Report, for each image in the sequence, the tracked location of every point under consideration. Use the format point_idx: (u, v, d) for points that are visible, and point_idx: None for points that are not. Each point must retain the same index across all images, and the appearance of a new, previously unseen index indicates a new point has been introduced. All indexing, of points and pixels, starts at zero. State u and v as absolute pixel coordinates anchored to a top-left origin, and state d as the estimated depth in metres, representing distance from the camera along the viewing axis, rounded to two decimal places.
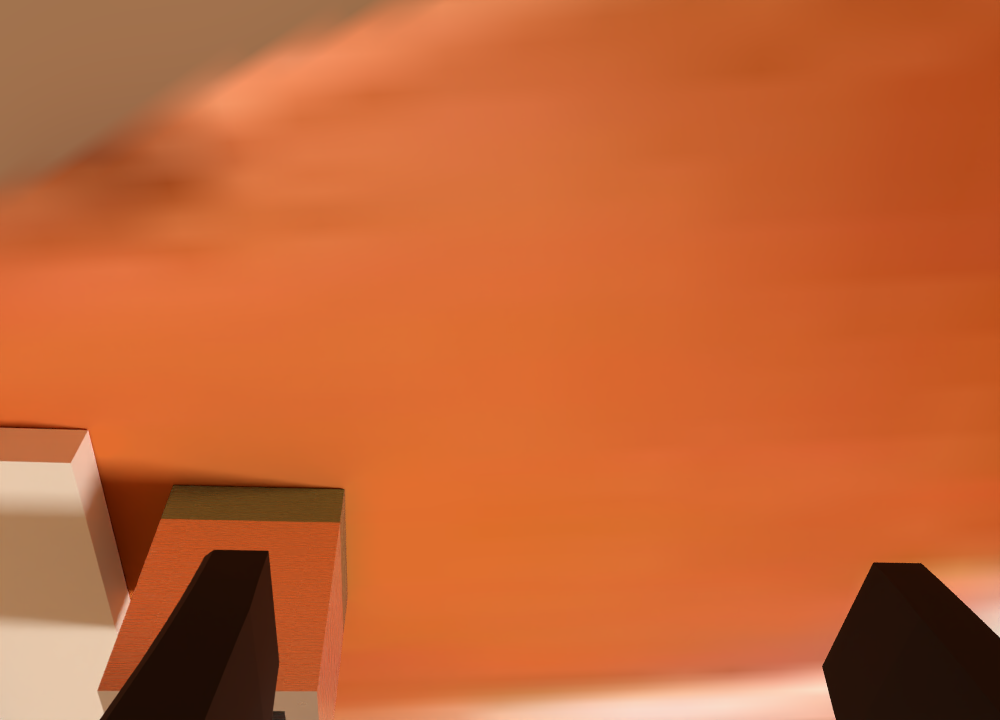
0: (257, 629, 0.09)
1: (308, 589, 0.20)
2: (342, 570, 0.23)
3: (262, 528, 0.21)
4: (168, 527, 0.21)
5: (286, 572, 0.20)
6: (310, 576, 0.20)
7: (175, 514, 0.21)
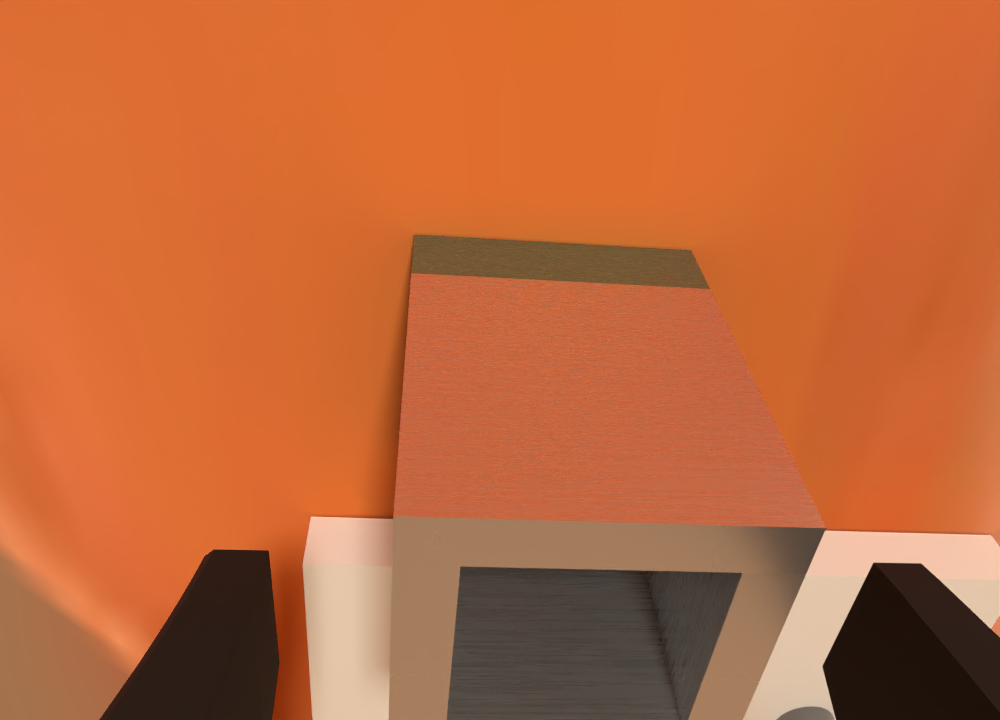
0: (257, 629, 0.09)
1: None
2: (552, 272, 0.13)
3: None
4: None
5: None
6: None
7: None
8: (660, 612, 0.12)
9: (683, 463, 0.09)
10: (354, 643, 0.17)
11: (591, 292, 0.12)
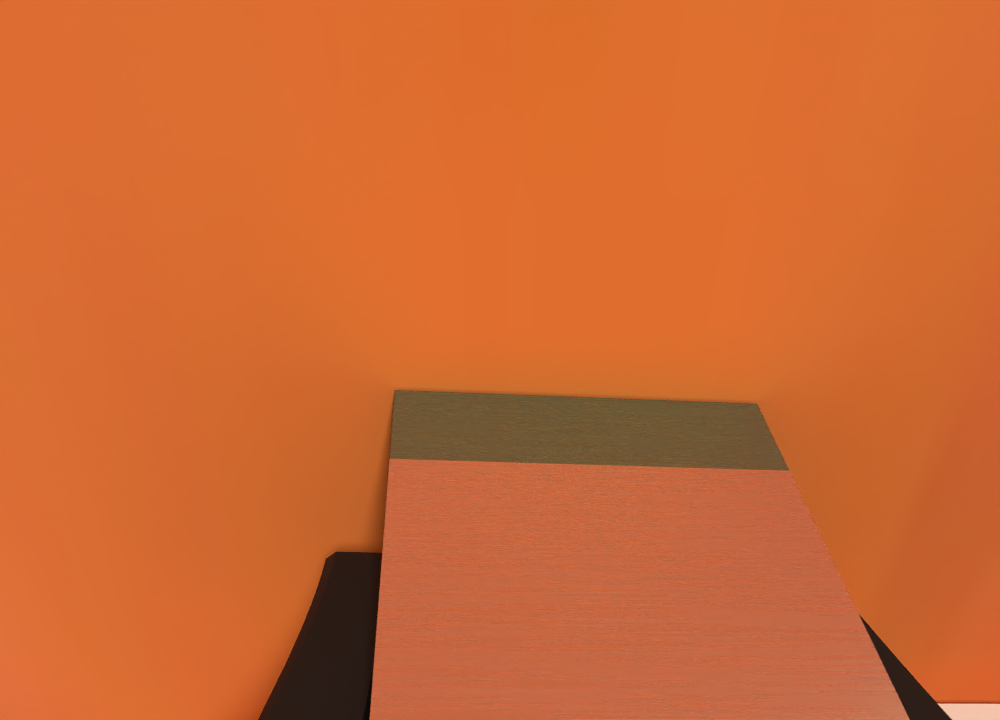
0: None
1: None
2: (579, 449, 0.09)
3: None
4: None
5: None
6: None
7: None
8: None
9: None
10: None
11: (633, 483, 0.09)
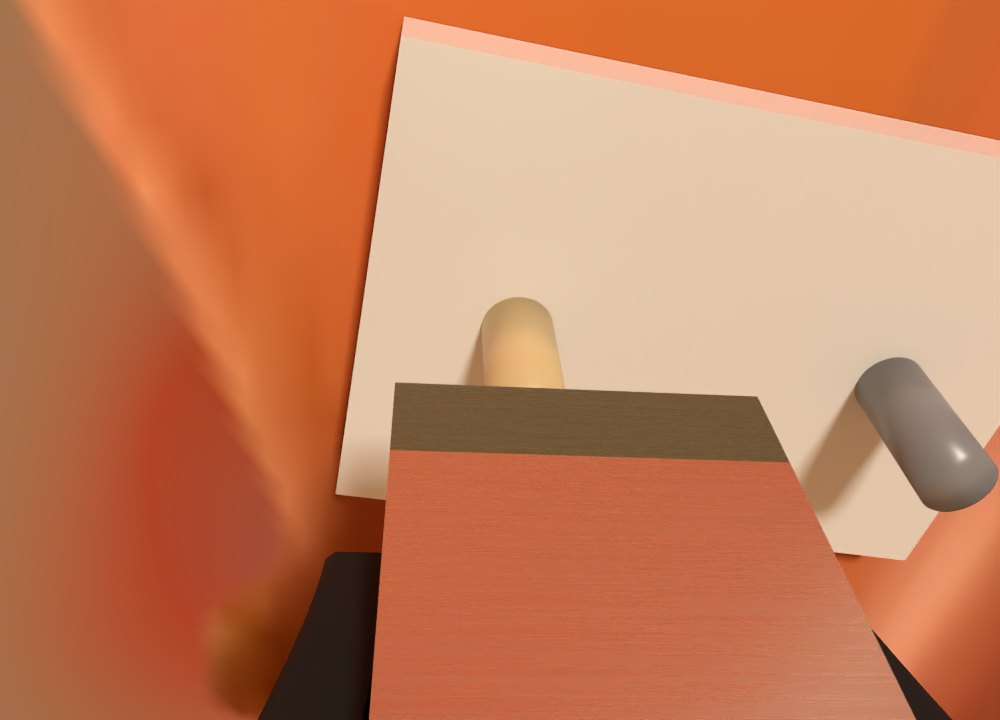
0: None
1: None
2: (579, 441, 0.09)
3: None
4: None
5: None
6: None
7: None
8: None
9: None
10: (434, 180, 0.15)
11: (633, 475, 0.09)
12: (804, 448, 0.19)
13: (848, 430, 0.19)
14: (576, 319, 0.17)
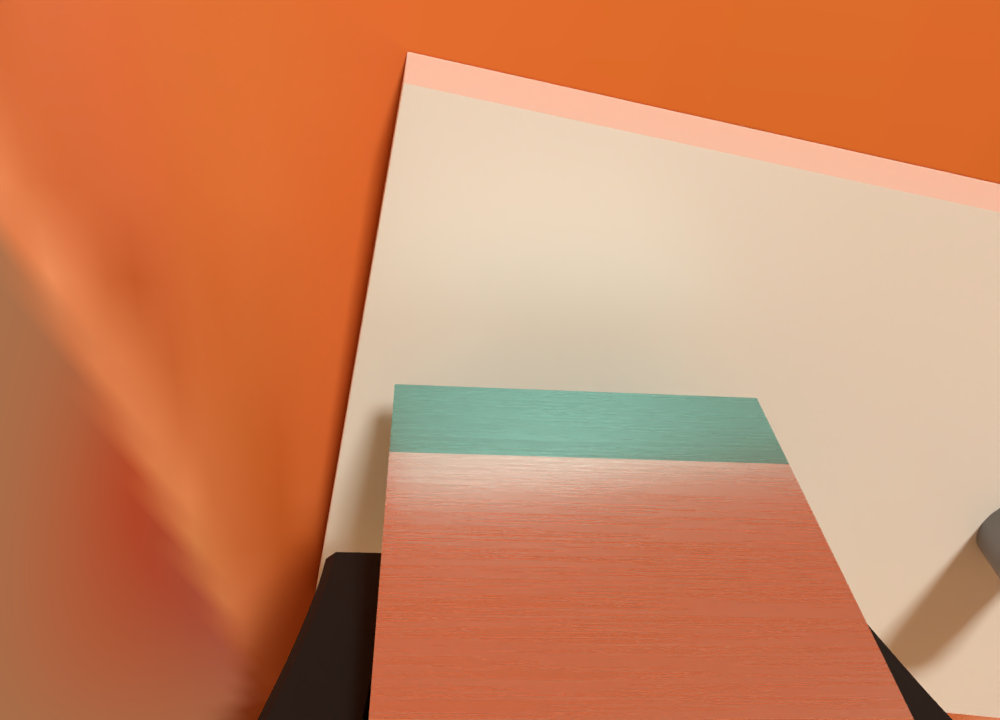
0: None
1: None
2: (578, 443, 0.09)
3: None
4: None
5: None
6: None
7: None
8: None
9: None
10: (445, 277, 0.11)
11: (633, 476, 0.09)
12: (904, 598, 0.15)
13: (960, 579, 0.15)
14: None
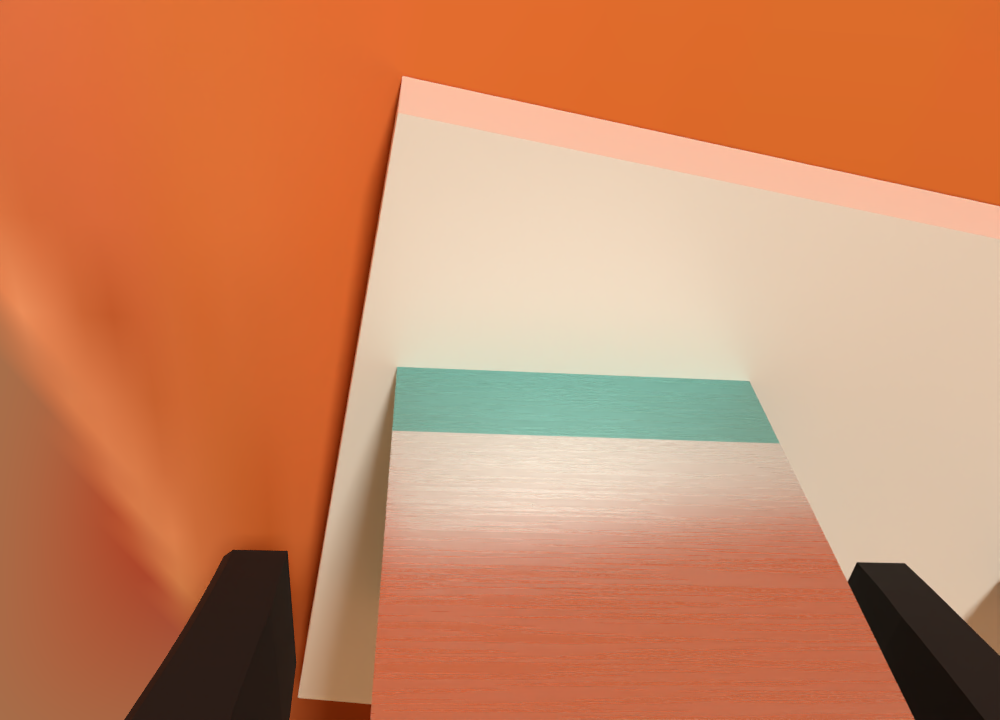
0: (277, 629, 0.09)
1: None
2: (576, 423, 0.10)
3: None
4: None
5: None
6: None
7: None
8: None
9: None
10: (443, 318, 0.10)
11: (628, 455, 0.09)
12: None
13: (986, 624, 0.14)
14: None
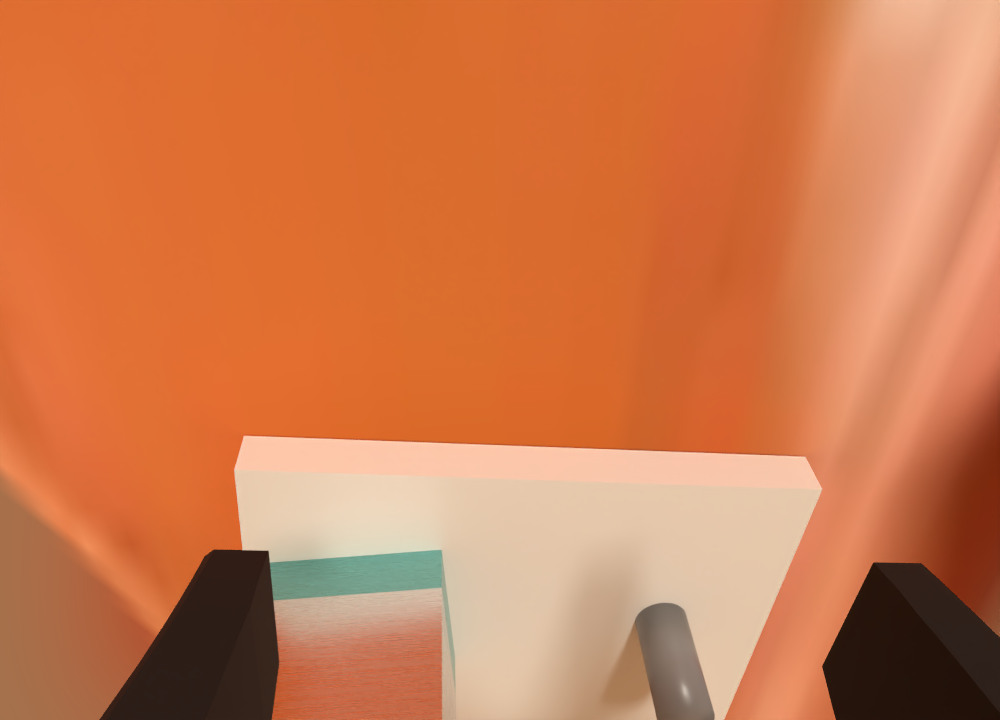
0: (257, 629, 0.09)
1: None
2: (344, 587, 0.21)
3: None
4: None
5: None
6: None
7: None
8: None
9: None
10: (280, 541, 0.21)
11: (364, 603, 0.20)
12: (610, 663, 0.24)
13: (640, 649, 0.24)
14: None
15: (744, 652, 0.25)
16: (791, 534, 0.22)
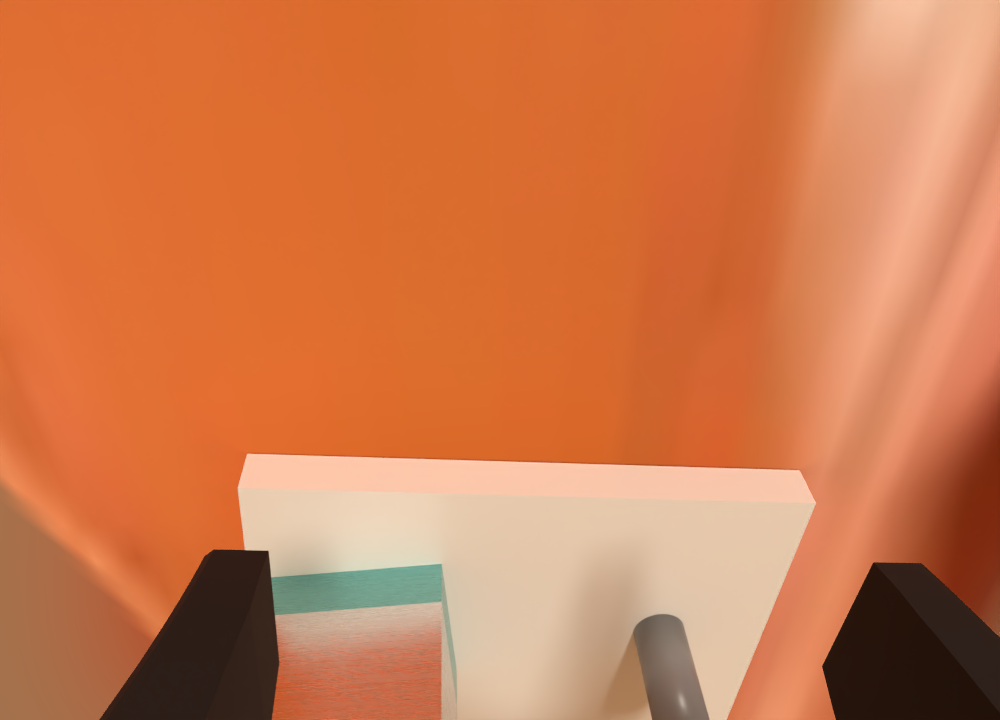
0: (257, 629, 0.09)
1: None
2: (346, 601, 0.21)
3: None
4: None
5: None
6: None
7: None
8: None
9: None
10: (283, 556, 0.21)
11: (366, 617, 0.21)
12: (610, 672, 0.25)
13: (639, 659, 0.25)
14: None
15: (742, 662, 0.25)
16: (786, 547, 0.22)
